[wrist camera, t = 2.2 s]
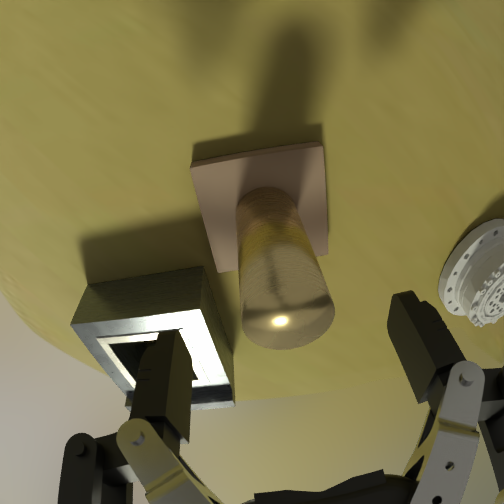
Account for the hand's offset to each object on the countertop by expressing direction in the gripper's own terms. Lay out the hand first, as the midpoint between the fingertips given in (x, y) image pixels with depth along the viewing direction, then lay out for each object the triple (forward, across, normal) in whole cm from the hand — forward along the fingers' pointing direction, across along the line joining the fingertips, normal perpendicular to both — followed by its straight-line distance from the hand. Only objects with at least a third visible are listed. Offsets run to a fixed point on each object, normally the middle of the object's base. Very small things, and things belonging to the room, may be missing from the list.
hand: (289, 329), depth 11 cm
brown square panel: (+9, 0, -1) cm, 9 cm away
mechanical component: (+10, -19, +8) cm, 23 cm away
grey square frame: (+9, +9, +8) cm, 15 cm away
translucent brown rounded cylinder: (+8, 0, 0) cm, 8 cm away
